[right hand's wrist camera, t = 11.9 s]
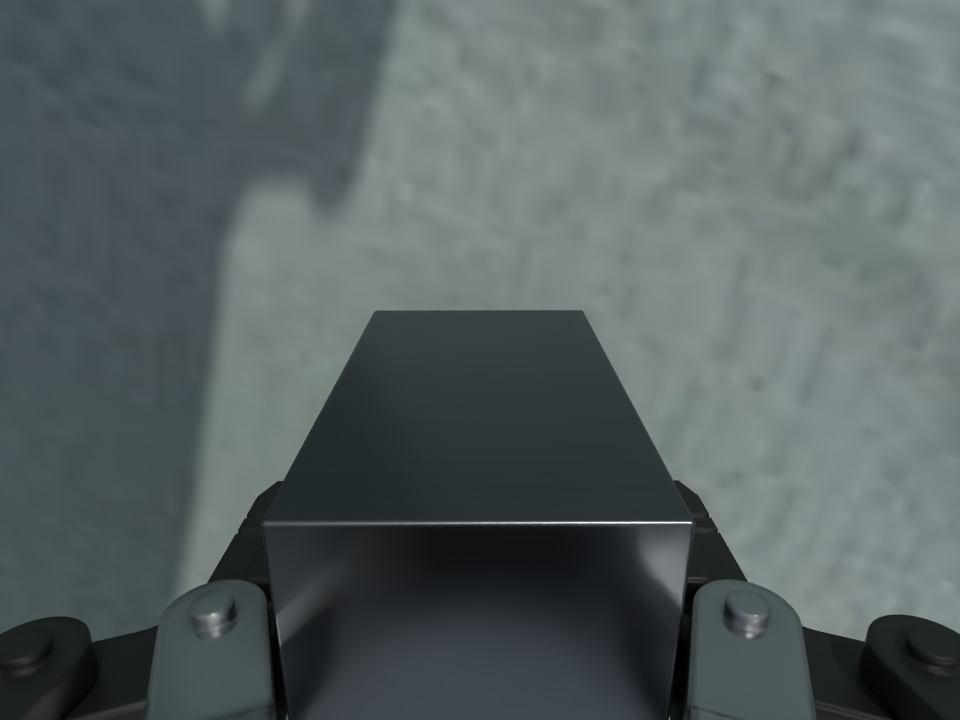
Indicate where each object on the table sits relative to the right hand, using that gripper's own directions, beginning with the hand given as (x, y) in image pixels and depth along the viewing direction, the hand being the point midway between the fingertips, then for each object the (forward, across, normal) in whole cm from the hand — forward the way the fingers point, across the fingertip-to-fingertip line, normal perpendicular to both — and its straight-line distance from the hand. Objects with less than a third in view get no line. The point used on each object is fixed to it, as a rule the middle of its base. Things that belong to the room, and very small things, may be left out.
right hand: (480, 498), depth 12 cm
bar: (+4, 0, -9) cm, 10 cm away
